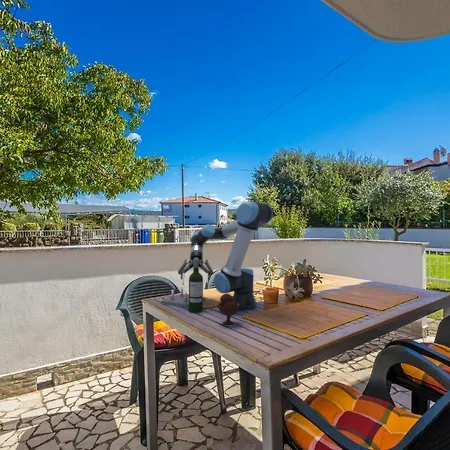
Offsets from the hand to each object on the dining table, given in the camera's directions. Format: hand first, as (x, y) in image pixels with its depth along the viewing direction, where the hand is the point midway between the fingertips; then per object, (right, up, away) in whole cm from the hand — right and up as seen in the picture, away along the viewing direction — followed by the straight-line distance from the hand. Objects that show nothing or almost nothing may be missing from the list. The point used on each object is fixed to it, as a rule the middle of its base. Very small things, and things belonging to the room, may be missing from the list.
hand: (195, 283), depth 163 cm
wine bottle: (0, -16, +1) cm, 16 cm away
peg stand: (-9, -16, +20) cm, 27 cm away
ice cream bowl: (+18, -16, -21) cm, 32 cm away
